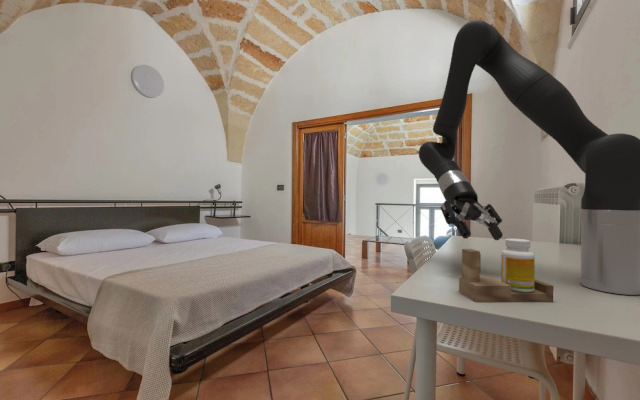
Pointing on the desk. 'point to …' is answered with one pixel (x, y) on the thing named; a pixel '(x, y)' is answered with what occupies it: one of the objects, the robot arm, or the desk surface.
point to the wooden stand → (495, 284)
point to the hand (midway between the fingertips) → (483, 237)
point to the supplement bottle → (518, 265)
